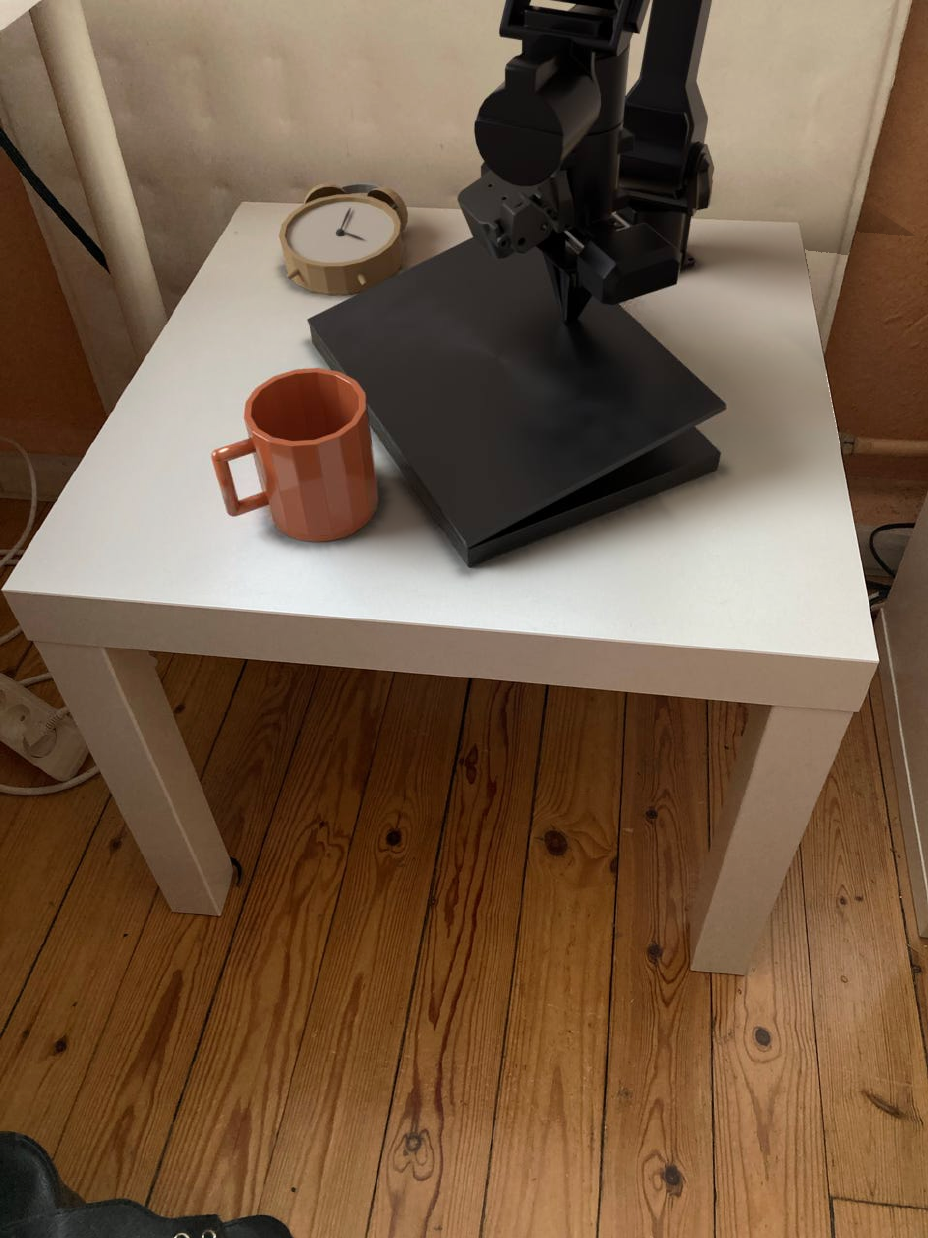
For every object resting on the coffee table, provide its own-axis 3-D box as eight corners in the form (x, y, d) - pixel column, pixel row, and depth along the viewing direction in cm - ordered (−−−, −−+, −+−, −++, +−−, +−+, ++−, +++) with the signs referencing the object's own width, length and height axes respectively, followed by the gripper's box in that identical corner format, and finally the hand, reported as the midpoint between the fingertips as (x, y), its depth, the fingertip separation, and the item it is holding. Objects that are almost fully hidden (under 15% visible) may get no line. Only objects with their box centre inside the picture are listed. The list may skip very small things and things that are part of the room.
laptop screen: (521, 219, 90) (520, 212, 89) (726, 410, 72) (726, 403, 72) (309, 325, 87) (306, 318, 87) (467, 550, 70) (465, 543, 69)
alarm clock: (262, 263, 92) (306, 155, 99) (274, 305, 96) (315, 199, 103) (383, 273, 90) (419, 163, 97) (390, 315, 94) (424, 207, 101)
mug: (353, 452, 79) (338, 355, 72) (396, 518, 75) (385, 420, 68) (216, 499, 76) (187, 403, 69) (252, 571, 72) (225, 475, 65)
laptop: (524, 277, 94) (525, 258, 93) (717, 470, 77) (722, 451, 75) (312, 343, 89) (309, 324, 87) (468, 567, 71) (467, 549, 70)
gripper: (411, 90, 71) (425, 288, 83) (544, 209, 60) (538, 418, 72) (551, 55, 74) (544, 251, 86) (701, 163, 63) (670, 371, 75)
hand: (569, 318), depth 80 cm, fingers closed, pressing on laptop screen
